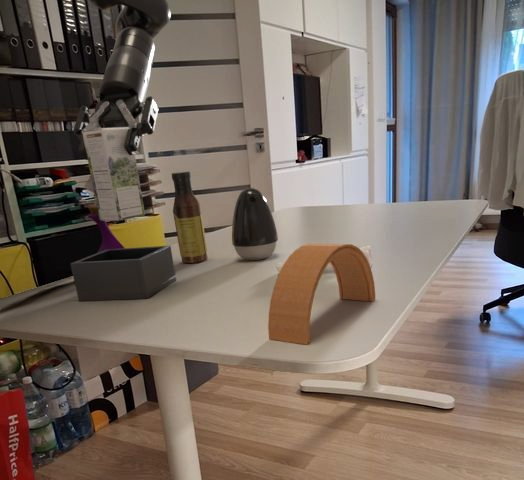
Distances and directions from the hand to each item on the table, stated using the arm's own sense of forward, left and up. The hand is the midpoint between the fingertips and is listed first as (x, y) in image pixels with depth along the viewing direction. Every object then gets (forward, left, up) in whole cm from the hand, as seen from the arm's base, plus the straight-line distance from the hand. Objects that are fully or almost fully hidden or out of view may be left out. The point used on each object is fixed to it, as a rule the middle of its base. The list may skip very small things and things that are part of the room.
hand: (106, 153), depth 85 cm
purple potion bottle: (-16, +22, -25) cm, 37 cm away
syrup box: (0, +1, -11) cm, 11 cm away
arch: (+36, -14, -25) cm, 46 cm away
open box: (-4, +5, -24) cm, 25 cm away
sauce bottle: (0, +30, -25) cm, 39 cm away
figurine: (+32, +14, -25) cm, 43 cm away
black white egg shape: (+15, +30, -25) cm, 42 cm away
